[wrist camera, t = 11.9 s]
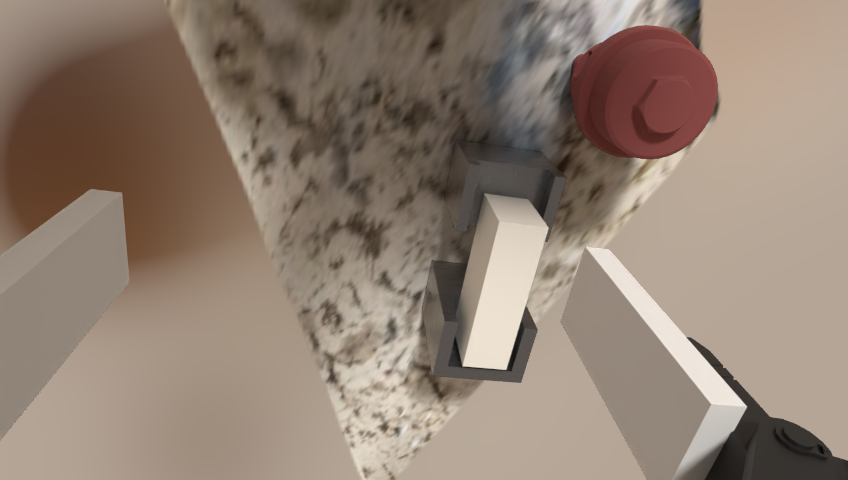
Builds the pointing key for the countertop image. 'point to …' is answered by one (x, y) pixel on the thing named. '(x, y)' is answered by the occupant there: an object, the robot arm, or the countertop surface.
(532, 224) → the cream rectangular block
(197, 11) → the countertop surface
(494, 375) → the cup bracket
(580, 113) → the mechanical component
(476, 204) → the grey channel block
